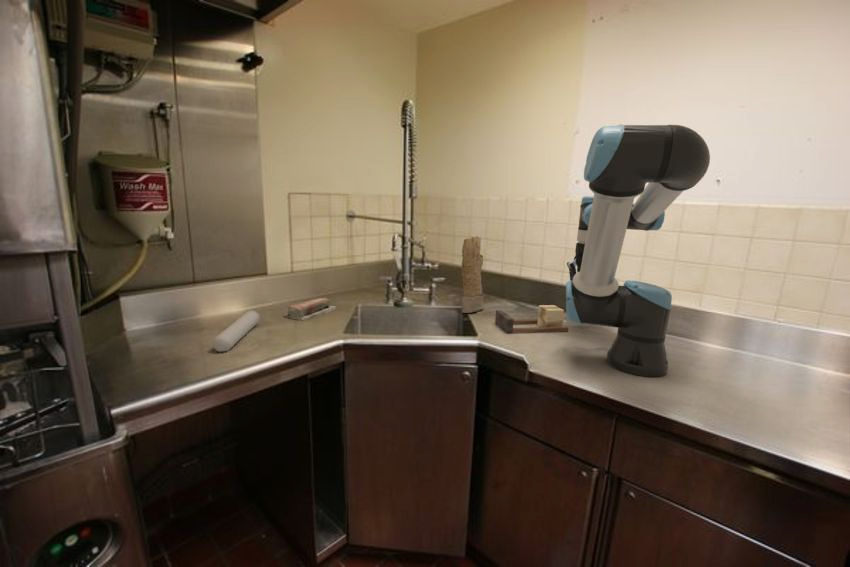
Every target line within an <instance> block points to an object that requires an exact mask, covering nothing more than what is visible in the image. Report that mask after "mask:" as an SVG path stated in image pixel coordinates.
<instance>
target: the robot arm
mask: <svg viewBox="0 0 850 567" xmlns="http://www.w3.org/2000/svg"><path fill="white" fill-rule="evenodd" d="M704 139H705V138H703V136H701V135H700V134H699V133H698V132H697V131H695V130H694V129H691V128H690V127H688V126H684V125H680V124H656V125H655V124H654V125H653V124H652V125H650V124H648V125H647V124H646V125H645V124H644V125H643V124H641V125H640V124H622V123H621V124H619V125H605V126H602V127H599V129H598V130H597V131H596V132H595V133H594V135H593V138H592V140H591V142H590V146H589V148H588V152H587V154H586V155H587V156H586V158H585V159H586V160H585V164H584V165H585V166H584V169H583V179H584V181H586V182H588V188H589V190H590V191H591V192H592V193H593V196H592V195H587V196H585V195H584V196H583V197H582V198H581V203H580V206H579V207H580V210H579V211H580V212H579V219H578V227H577V237H576V241H577V243H576V244H575V251H574V252H575V254H574V255H575V256H574V258H573V260H572V261H571V262H569V261H568V262H566V265H567V268H568V270H569V271H568V274H569V280H567V281H566V282H565V300H566V302H565V307H566V308H565V309H566V310H565V313H566V314H565V316H566V319H567V320H568V321H569V322H571V323H576V324H581V325H593V326H601V327H611V328H617V332H616V336H615V338H614V341H613V342H612V344H611V346H610V348H609V349H608V351H607V354H606V363H608V364H609V366H612V367H613V368H614V369H617V370H618V371H620V372H621V371H622V372H624V373H628V374H632V375H636V376H640V377H641V376H642V377H649V378H650V377H651V378H653V377H654V378H655V377H662V376H665V375H667V373H668V368H669V362H668V360H667V359H668V357H667V352H666V345H665V341H666V336H667V335H666V334H667V332H668V331H667V330H668V324H669V319H670V315H671V314H670V313H671V310H672V301H673V300H672V299H673V297H672V292H670V291H669V290H667V289H666V288H663V287H661V286H658V285H655V284H651V283H646V282H643V281H637V280H630V279H629V280H626V281H624V283H623V285H619V281H618V280H617V278H616V272H617V269H618V266H619V265H618V264H619V260H620V256H621V254H622V253H621V252H622V250H623V245H624V241H625V237H626V232H627V230H633V231H635V230H636V231H645V232H648V231H659V230H660V229H661V228H662V226H663V224H664V222H665V216H666V214H665V211H666V210H667V209H668V208H669V206H671V205H672V204H673V203H674V201H675V200H676V199H677V198H678V197H679V196H680V195H681V194H683V192H684V191H688V190H690V189H692V188H693V187H695V186H696V185H697V184H698V183H699V182H700V181H701V180H702V179H703V178H704V176H705V175H706V173H707V172H708V169H709V166H710V164H711V163H710V160H711V155H710V154H711V153H710V150H709V147H708V145H707V142H706V141H705V140H704ZM646 184H647V185H646ZM637 197H638V198H637ZM635 198H637V199H636V201H635ZM634 201H635V202H634Z"/></svg>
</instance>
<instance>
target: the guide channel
mask: <svg viewBox="0 0 850 567" xmlns="http://www.w3.org/2000/svg"><path fill="white" fill-rule="evenodd" d="M494 320H495V322H494V324H495V325H496V326H497V327H498V328H499V329H500V330H502V331H503V332H504V333H505V334H507V335H508V334H538V333H539V334H541V333H546V334H548V333H568V331H569V327H568V326H562V327H540V326H539V327H538V326H537V327H536V326H535V327H531V326H530V327H514V325H537V320H538V318H532V319H531V318H528V319H527V318H526V319H525V318H524V319H523V318H522V319H520V318H519V319H514V318H512V316H511V315H508V313H506V312H505V311H503V310H501V309H500V310H498V309H497V310H496V311H495V319H494Z"/></svg>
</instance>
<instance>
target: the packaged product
mask: <svg viewBox="0 0 850 567" xmlns="http://www.w3.org/2000/svg"><path fill="white" fill-rule="evenodd" d="M287 308H288V311H287V313H284V314H283V315H282V316H283V318H288V319H293V320H296V321H302V322H306V321H308V320H310V319H314V318H317V317H320V316H322V315H326V314H328V313H330V312H331V313H332V312H333V311H335V310H337V306H335V305H331V300H330V299H328V298H327V297H321V298H320V297H319V298H314V299H310V300H307V301H304V302H299V303H295V304H293V305H290V306H288V307H287Z"/></svg>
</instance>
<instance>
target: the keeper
mask: <svg viewBox="0 0 850 567" xmlns="http://www.w3.org/2000/svg"><path fill="white" fill-rule="evenodd" d="M564 313H565V309H562V308H561V307H559V306H556V305H555V304H549V305H546V304H545V305H544V304H542V305H541V304H540V305H538V312H537V319H538V320H537V324H536V325H537V326H539V327H563V323H564V322H563V321H564Z"/></svg>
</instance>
